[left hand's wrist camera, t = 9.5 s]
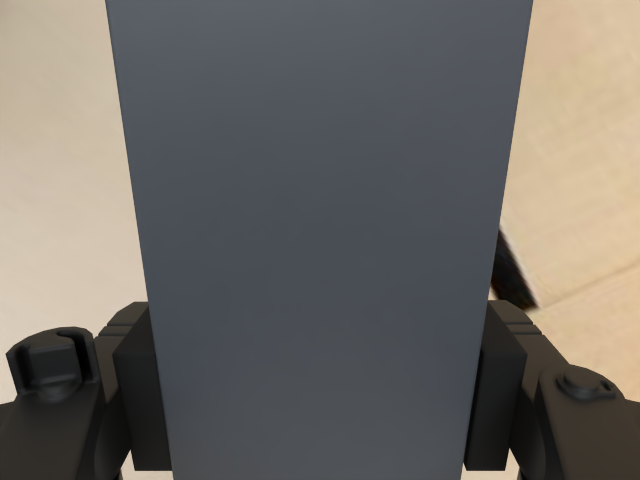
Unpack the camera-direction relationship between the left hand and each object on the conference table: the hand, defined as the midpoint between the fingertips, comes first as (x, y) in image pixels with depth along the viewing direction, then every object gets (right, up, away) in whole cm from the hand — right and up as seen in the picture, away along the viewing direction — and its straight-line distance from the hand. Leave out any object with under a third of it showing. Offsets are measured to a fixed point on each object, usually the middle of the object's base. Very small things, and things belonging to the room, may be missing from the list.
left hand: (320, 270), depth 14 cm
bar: (0, +35, -12) cm, 37 cm away
